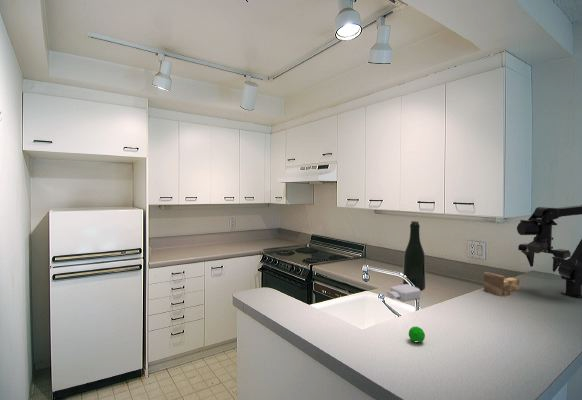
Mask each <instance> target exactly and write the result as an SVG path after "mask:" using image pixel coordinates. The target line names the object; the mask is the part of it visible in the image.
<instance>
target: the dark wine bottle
mask: <svg viewBox="0 0 582 400" xmlns="http://www.w3.org/2000/svg"><path fill="white" fill-rule="evenodd" d="M420 227H421V226H420V223H419V221H417V220H412V221H411V223H409V228H410V229H409V238H408V239H409V240H408V242H407V245H406V248H405V250H404V254H403V263H402V264H403V266H402V275H403V274H404V275H406V276H407V278H408V279H409V280H410V281H411V282H412V283H413V284H414V285H415V287H416V288H419V289H420V292H422V291H425V290H426V284H427V283H426V282H427V280H426V279H427V277H426V276H427V273H426V272H427V271H426V269H427V268H426V253H425V250H424V248H423V246H422V243H421V239H420V238H421V237H420ZM404 284H408V283H407V282H406V281H405V280H404V279H403V278H402V285H404Z"/></svg>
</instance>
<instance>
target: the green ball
mask: <svg viewBox="0 0 582 400" xmlns="http://www.w3.org/2000/svg"><path fill="white" fill-rule="evenodd" d="M408 337H409V339H410V340H411V339H412V340H414V341H422V342H424V340H425V338H426V333H425V332H424V329H422V328H421V327H420V326H412V327H411V328H410V329H409V330H408ZM412 340H411V341H412ZM414 341H413V342H414Z"/></svg>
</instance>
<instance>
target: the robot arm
mask: <svg viewBox="0 0 582 400" xmlns="http://www.w3.org/2000/svg"><path fill="white" fill-rule="evenodd" d="M579 215H581V216H582V204H580V205H573V206H571V205H570V206H562V207H550V206H549V207H547V206H538V207H536V208H535V209H534V211H533V213H532V214H531V215H530V217H529V218H528V219H520V222H519V223H517V226H516V231H517V233H518V234H519V235H520V236H533V239H532V241H531V242H529V243H520V244H519V245H518V246H517V247H518V248H517V250H518V251H520V252H521V253H523V255H525V257H526V258H527V260H528V263H529V266H530V267H531V268H532V267H533V266H534V261H535V254H541V253H545V254H551V255H553V256H551V258H552V272H553V273H555V272H557V271H558V273H559V275H560V278H561V279H562V280H564V281H565V290H564V291H561V294H563V295H567V296H569V297H570V296H571V297H573V298H582V238H581V240H580V241H579V243H578V244H577V245H576V247H575V250H573V252H572V253H571V251H570V250H569V249H568V250H567V249H563V248H557V249H554V246H552V241H553V240H554V237H553V235H552V234H553V226H558V222H555V221H554V220H558V219H559V218H562V217H570V216H571V217H572V216H579ZM567 258H568V259H567Z"/></svg>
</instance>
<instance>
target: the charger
mask: <svg viewBox="0 0 582 400" xmlns="http://www.w3.org/2000/svg"><path fill="white" fill-rule="evenodd" d="M384 296H387V298H390V299H392V300H393V299H397V300H398V301H400V302H408V301H409V302H411V301H415V300H419V299H421V291H420V289H419V288H416V287H414V286H410V285H409V284H404V285H403V284H400V285H393V286H391V287H390V291H388V292H386V293H385V295H384Z"/></svg>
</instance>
